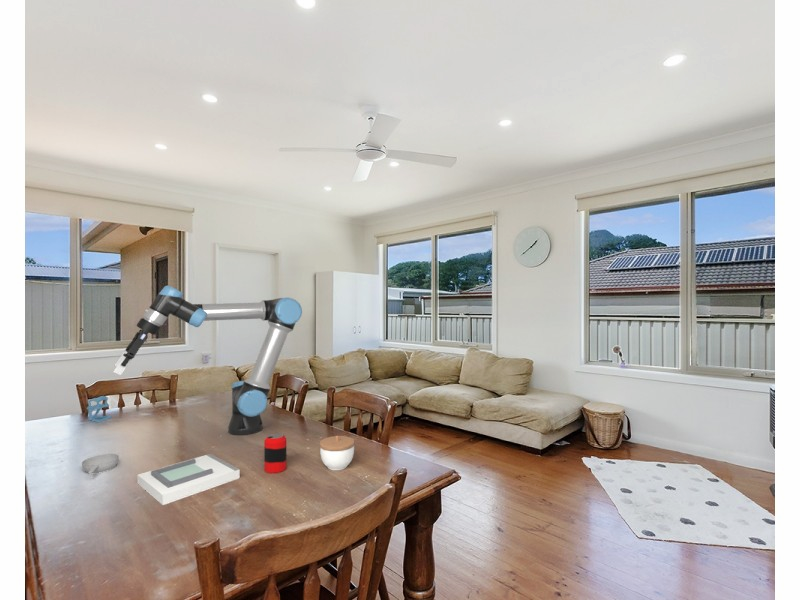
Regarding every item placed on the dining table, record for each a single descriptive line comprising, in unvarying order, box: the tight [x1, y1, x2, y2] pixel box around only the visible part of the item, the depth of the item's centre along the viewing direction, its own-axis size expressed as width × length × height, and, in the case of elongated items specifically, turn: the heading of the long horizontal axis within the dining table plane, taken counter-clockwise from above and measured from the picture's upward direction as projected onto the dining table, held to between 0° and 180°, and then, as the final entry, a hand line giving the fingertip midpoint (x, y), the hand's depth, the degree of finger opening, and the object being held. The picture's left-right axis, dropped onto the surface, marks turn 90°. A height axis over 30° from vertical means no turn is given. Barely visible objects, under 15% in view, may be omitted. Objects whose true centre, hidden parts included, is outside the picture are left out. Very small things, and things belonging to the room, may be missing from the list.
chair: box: [86, 395, 112, 423], centre depth 209 cm, size 8×8×12 cm
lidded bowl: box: [319, 435, 355, 471], centre depth 149 cm, size 13×13×11 cm
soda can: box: [263, 432, 288, 474], centre depth 146 cm, size 8×8×12 cm
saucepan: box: [81, 453, 120, 474], centre depth 144 cm, size 11×18×4 cm, turn 23°
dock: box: [137, 453, 241, 506], centre depth 137 cm, size 24×22×4 cm
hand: (117, 370), depth 155 cm, fingers open, 13 cm apart
